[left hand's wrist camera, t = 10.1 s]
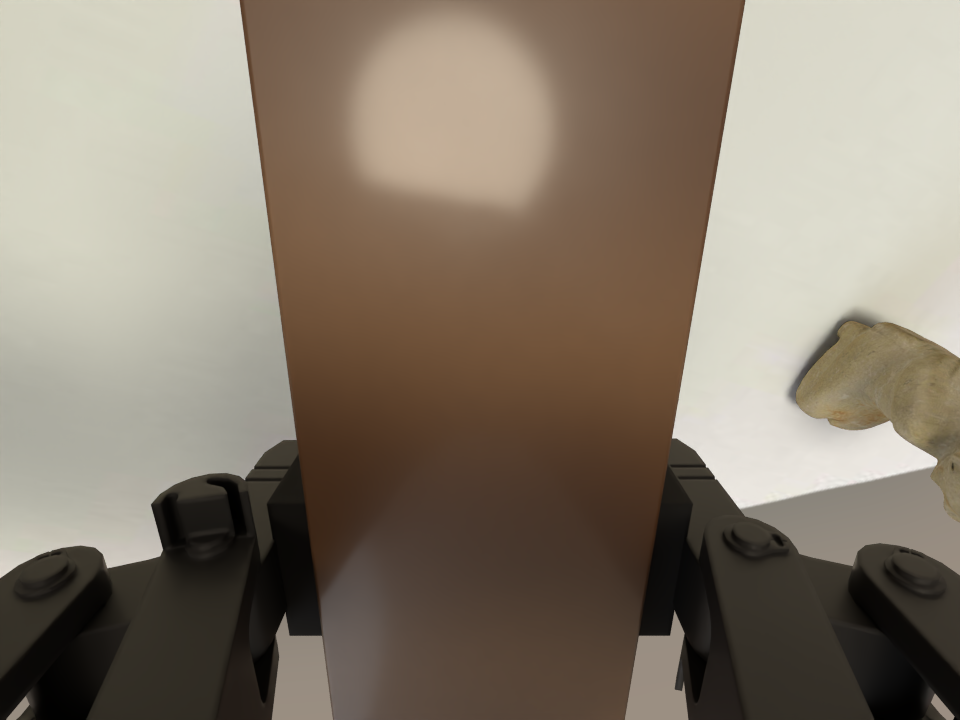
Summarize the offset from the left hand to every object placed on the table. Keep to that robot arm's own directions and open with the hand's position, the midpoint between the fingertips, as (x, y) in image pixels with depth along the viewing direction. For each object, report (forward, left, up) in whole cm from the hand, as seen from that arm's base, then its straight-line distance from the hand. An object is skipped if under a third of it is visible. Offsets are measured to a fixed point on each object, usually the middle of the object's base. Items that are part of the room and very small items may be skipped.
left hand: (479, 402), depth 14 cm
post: (+8, +25, 0) cm, 27 cm away
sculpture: (+21, -13, -19) cm, 31 cm away
